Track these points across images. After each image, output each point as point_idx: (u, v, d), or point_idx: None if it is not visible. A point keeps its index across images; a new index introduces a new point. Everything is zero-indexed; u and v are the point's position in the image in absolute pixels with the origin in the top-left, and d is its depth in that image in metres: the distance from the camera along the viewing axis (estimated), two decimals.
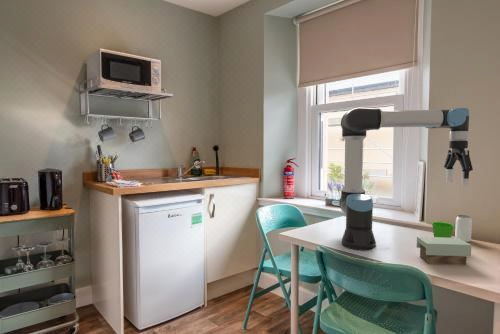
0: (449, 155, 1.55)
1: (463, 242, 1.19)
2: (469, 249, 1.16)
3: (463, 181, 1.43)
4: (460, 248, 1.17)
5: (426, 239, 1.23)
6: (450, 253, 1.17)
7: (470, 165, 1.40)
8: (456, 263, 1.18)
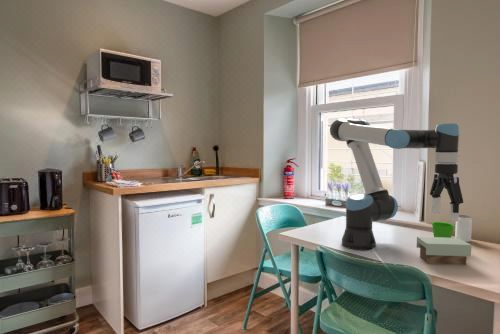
0: (435, 180, 1.26)
1: (463, 242, 1.19)
2: (469, 249, 1.16)
3: (451, 216, 1.14)
4: (460, 248, 1.17)
5: (426, 239, 1.23)
6: (450, 253, 1.17)
7: (460, 196, 1.11)
8: (456, 263, 1.18)
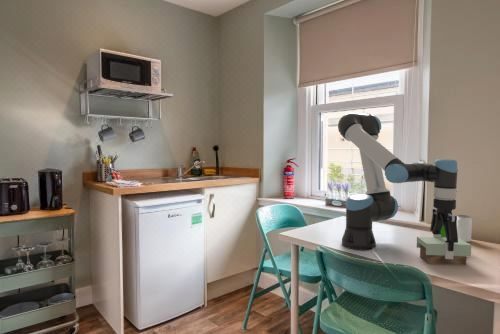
0: (434, 215, 1.27)
1: (463, 242, 1.19)
2: (469, 249, 1.16)
3: (446, 254, 1.17)
4: (460, 248, 1.17)
5: (426, 239, 1.23)
6: None
7: (456, 236, 1.14)
8: (456, 263, 1.18)
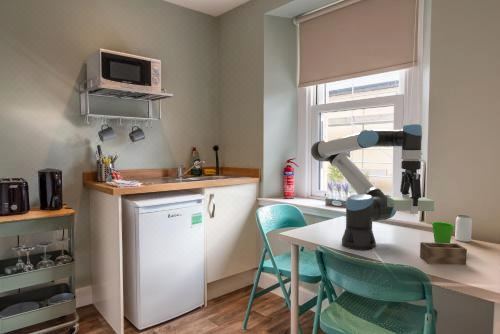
0: (403, 177, 1.39)
1: (427, 199, 1.32)
2: (432, 204, 1.29)
3: (412, 209, 1.30)
4: (424, 204, 1.29)
5: (395, 198, 1.36)
6: None
7: (419, 192, 1.26)
8: (456, 263, 1.18)
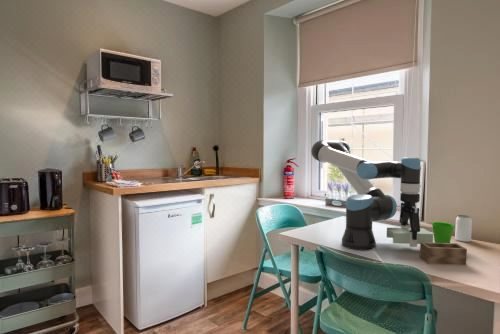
0: (402, 208, 1.40)
1: (426, 232, 1.33)
2: (431, 237, 1.30)
3: (411, 242, 1.30)
4: (423, 237, 1.30)
5: (394, 229, 1.37)
6: None
7: (418, 226, 1.27)
8: (456, 263, 1.18)
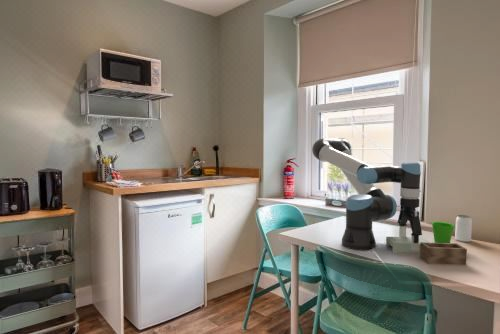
0: (402, 211, 1.41)
1: (426, 241, 1.33)
2: None
3: (412, 245, 1.29)
4: None
5: (393, 239, 1.37)
6: (413, 251, 1.31)
7: (419, 229, 1.26)
8: (456, 263, 1.18)
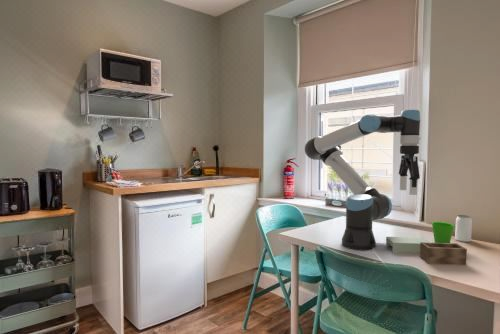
0: (402, 161, 1.43)
1: (426, 241, 1.33)
2: None
3: (410, 190, 1.31)
4: None
5: (393, 239, 1.37)
6: (413, 251, 1.31)
7: (417, 173, 1.28)
8: (456, 263, 1.18)
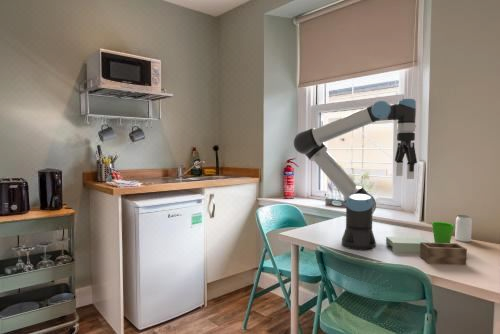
0: (398, 148, 1.51)
1: (426, 241, 1.33)
2: None
3: (408, 174, 1.38)
4: None
5: (393, 239, 1.37)
6: (413, 251, 1.31)
7: (414, 158, 1.35)
8: (456, 263, 1.18)
